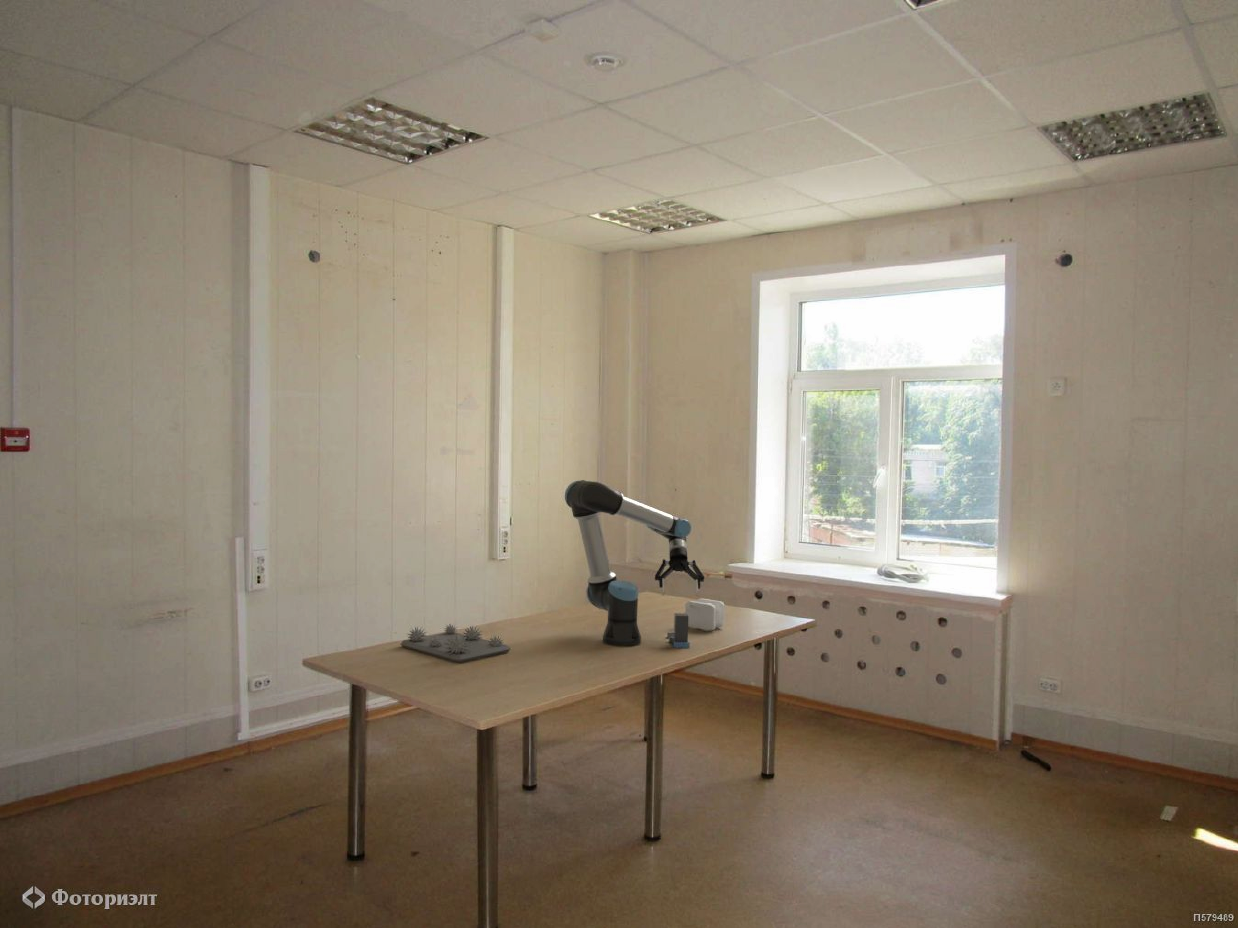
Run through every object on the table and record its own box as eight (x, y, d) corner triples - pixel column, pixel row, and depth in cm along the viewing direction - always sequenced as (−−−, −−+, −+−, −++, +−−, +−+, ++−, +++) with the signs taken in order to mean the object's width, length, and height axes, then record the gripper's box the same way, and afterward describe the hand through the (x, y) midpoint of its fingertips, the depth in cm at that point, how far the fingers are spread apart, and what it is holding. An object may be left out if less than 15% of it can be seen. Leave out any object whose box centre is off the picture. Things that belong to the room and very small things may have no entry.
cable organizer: (726, 629, 357) (726, 602, 357) (712, 632, 349) (713, 605, 349) (697, 623, 367) (698, 597, 367) (683, 627, 359) (684, 600, 359)
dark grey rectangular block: (674, 646, 322) (675, 615, 322) (673, 643, 327) (674, 613, 327) (687, 646, 322) (688, 616, 322) (686, 643, 327) (687, 613, 327)
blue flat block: (674, 647, 320) (674, 642, 320) (671, 642, 329) (672, 637, 329) (689, 647, 320) (689, 642, 320) (686, 642, 329) (687, 637, 329)
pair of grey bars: (669, 642, 329) (669, 637, 329) (667, 637, 338) (667, 632, 338) (684, 642, 329) (684, 637, 329) (682, 637, 338) (682, 632, 338)
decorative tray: (512, 653, 305) (513, 626, 305) (456, 666, 285) (457, 637, 285) (452, 638, 328) (452, 612, 327) (396, 648, 308) (397, 621, 308)
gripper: (706, 558, 352) (710, 600, 337) (648, 556, 351) (648, 598, 336) (708, 547, 346) (712, 589, 332) (649, 545, 346) (650, 587, 331)
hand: (680, 594), depth 334 cm, fingers open, 13 cm apart
